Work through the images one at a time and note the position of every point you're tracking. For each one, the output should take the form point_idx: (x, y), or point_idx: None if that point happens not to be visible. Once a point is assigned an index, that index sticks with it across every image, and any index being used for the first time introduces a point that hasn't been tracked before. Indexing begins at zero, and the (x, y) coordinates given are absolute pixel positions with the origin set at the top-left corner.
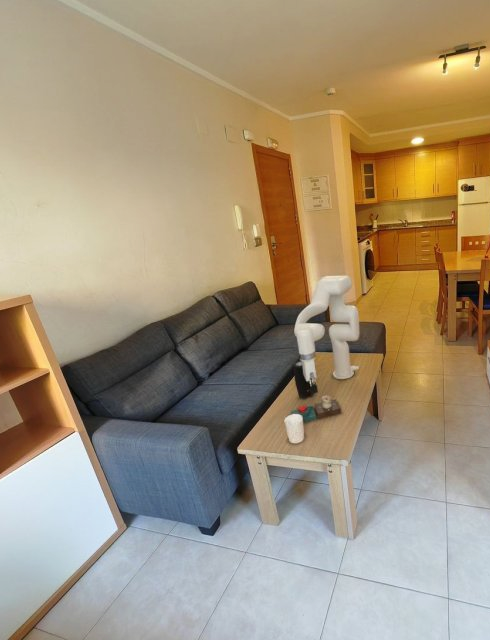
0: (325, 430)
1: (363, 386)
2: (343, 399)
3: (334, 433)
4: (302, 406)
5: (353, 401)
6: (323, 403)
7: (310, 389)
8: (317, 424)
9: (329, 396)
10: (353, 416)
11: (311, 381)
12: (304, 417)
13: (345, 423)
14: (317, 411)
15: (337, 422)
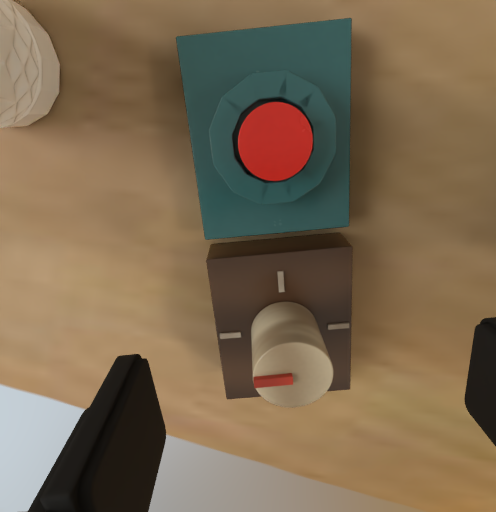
0: (75, 271)
1: (450, 505)
2: (371, 404)
3: (39, 315)
4: (294, 146)
5: (325, 444)
6: (264, 331)
7: (84, 418)
8: (150, 230)
9: (305, 403)
10: (180, 422)
11: (490, 412)
12: (203, 148)
13: None
14: (236, 259)
15: (144, 344)
